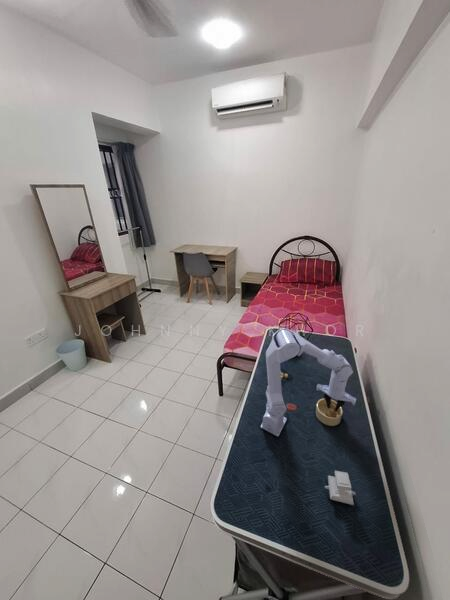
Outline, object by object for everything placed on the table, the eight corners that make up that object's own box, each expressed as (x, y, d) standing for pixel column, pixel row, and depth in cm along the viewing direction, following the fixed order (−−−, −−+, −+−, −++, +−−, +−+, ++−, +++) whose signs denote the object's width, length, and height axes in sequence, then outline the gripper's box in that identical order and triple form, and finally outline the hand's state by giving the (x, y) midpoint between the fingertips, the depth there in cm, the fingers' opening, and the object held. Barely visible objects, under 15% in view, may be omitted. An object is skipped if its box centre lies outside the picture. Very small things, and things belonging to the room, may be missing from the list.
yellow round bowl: (337, 430, 96) (339, 422, 94) (312, 418, 101) (313, 411, 99) (342, 412, 103) (344, 404, 101) (319, 402, 109) (320, 394, 107)
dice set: (288, 377, 124) (288, 374, 123) (280, 381, 121) (280, 379, 120) (281, 372, 128) (281, 369, 127) (273, 375, 125) (274, 373, 124)
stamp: (325, 502, 75) (329, 488, 71) (322, 479, 81) (326, 464, 77) (356, 510, 73) (362, 495, 69) (351, 486, 79) (356, 471, 75)
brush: (335, 421, 99) (337, 412, 96) (324, 416, 101) (326, 407, 98) (337, 413, 102) (339, 404, 99) (326, 409, 104) (328, 400, 102)
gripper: (359, 384, 93) (353, 409, 99) (321, 371, 100) (317, 394, 106) (356, 397, 88) (350, 422, 94) (316, 382, 95) (312, 405, 101)
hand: (332, 408), depth 100 cm, fingers closed on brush, 2 cm apart
